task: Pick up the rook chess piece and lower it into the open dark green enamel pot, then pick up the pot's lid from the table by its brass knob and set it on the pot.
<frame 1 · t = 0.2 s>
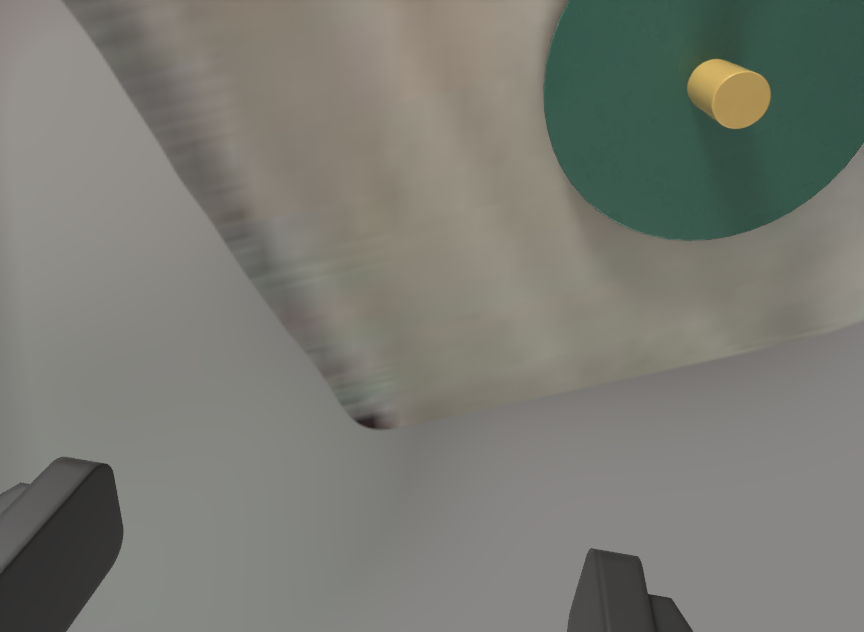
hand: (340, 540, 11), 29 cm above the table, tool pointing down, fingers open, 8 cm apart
lid: (709, 82, 33), point 1 cm above the table
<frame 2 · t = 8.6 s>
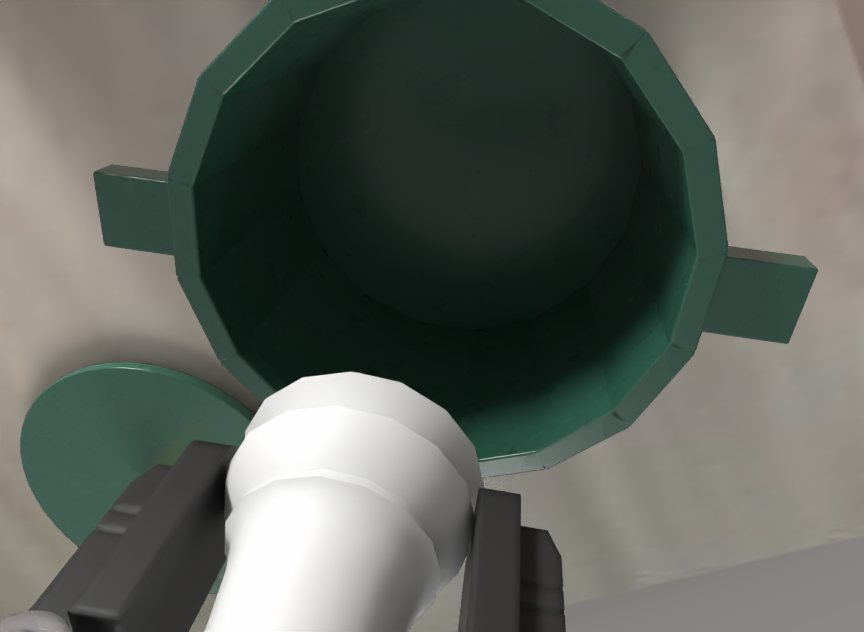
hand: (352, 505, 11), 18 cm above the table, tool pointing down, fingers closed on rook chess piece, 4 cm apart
pot: (464, 174, 27), on the table
rook chess piece: (369, 451, 12), point 17 cm above the table, touching gripper
lid: (165, 485, 37), point 1 cm above the table
when the fingers open (3 cm above the table, at t = 12.8 s): rook chess piece drops 1 cm, resting on pot.
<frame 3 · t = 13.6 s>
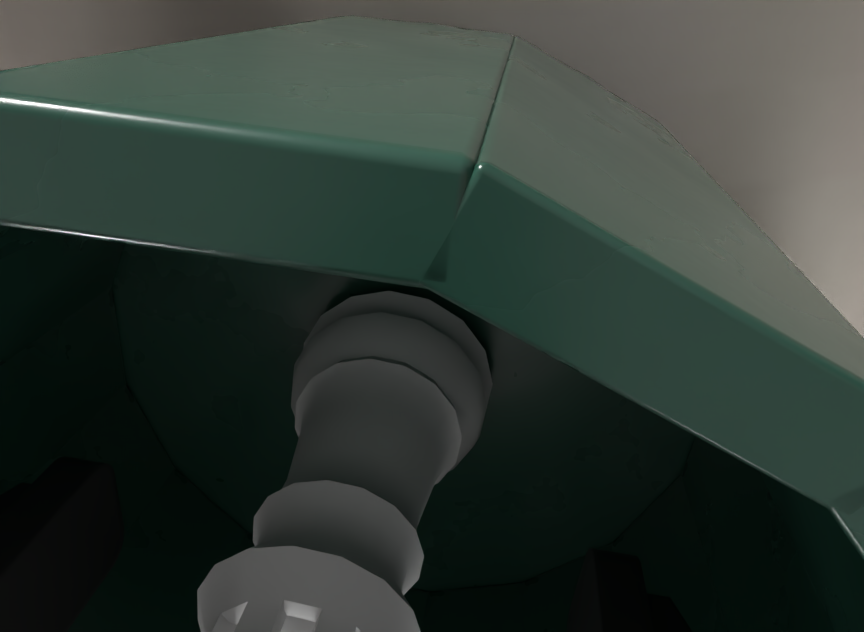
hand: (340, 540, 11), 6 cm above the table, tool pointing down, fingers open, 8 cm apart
pot: (402, 369, 16), on the table
rook chess piece: (400, 363, 15), resting on pot
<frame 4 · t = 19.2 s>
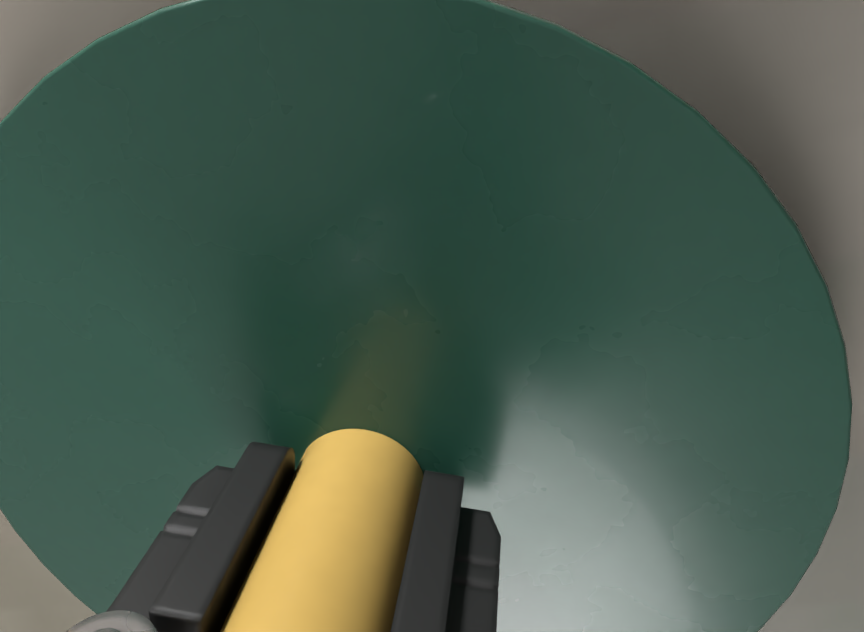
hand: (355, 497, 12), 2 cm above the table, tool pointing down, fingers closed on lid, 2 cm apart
lid: (369, 457, 13), point 1 cm above the table, touching gripper
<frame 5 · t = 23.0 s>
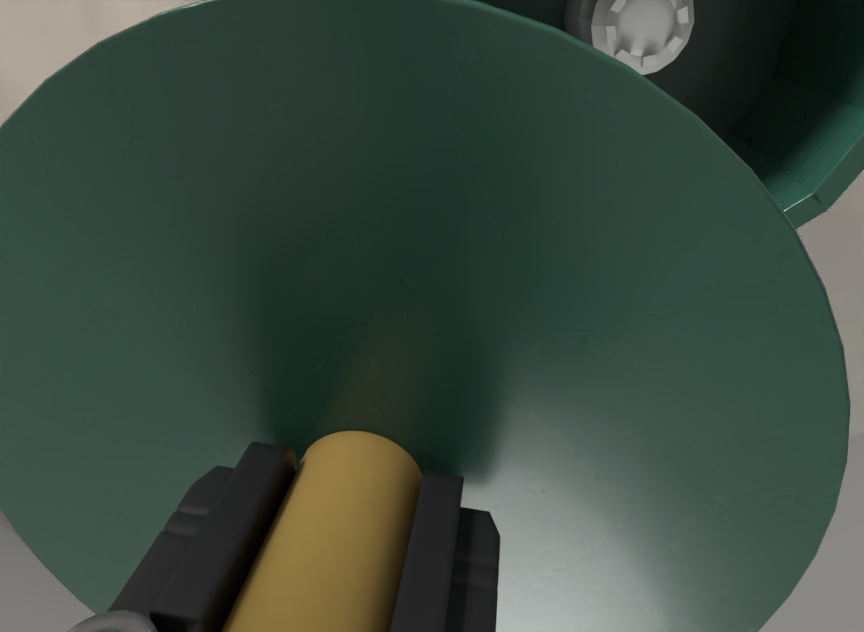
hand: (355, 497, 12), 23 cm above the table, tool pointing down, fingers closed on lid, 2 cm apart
pot: (614, 23, 28), on the table
rook chess piece: (615, 14, 28), resting on pot
lid: (369, 459, 13), point 22 cm above the table, touching gripper
when the fingers open (11 cm above the table, at t = 26.8 s): lid stays where it is, resting on pot.
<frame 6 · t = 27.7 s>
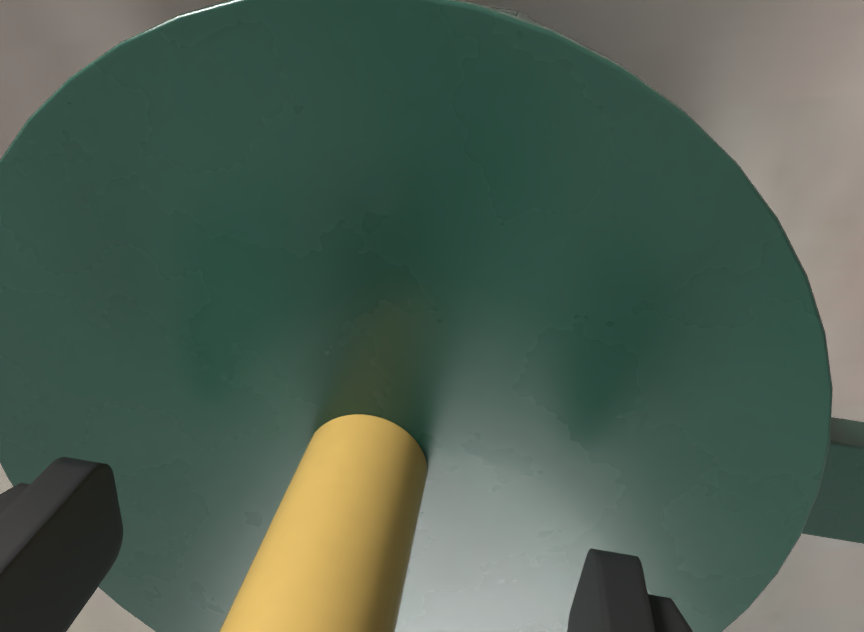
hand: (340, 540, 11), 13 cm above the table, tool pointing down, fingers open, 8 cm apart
pot: (436, 256, 22), on the table
lid: (373, 443, 13), point 10 cm above the table, touching pot
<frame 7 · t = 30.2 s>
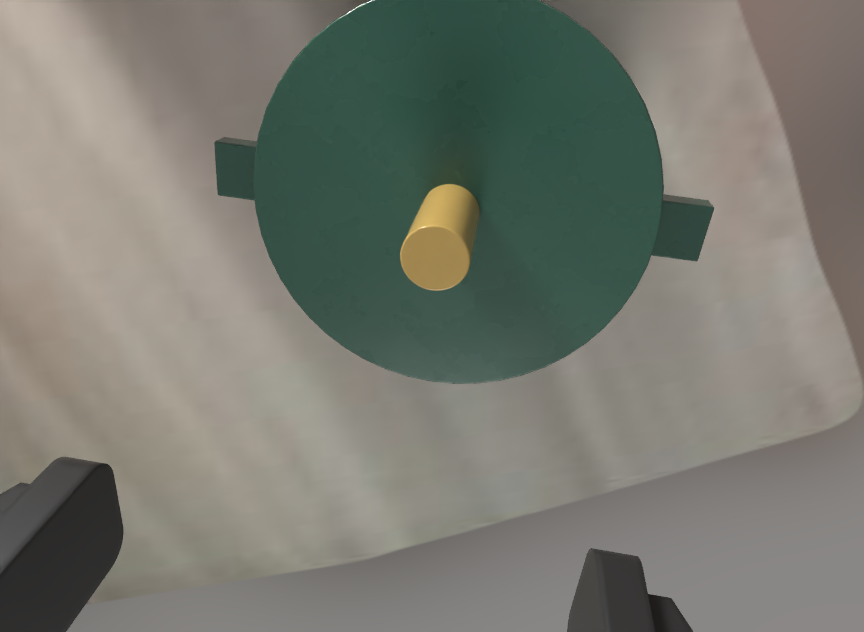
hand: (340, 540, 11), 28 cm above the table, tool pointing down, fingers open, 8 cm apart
pot: (470, 150, 35), on the table
lid: (451, 208, 27), point 10 cm above the table, touching pot
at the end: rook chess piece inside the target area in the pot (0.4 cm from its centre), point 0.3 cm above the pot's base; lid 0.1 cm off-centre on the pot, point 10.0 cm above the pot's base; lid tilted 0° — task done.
